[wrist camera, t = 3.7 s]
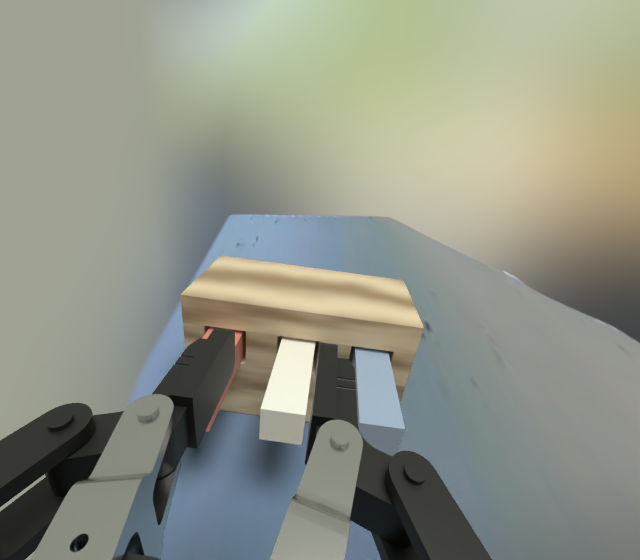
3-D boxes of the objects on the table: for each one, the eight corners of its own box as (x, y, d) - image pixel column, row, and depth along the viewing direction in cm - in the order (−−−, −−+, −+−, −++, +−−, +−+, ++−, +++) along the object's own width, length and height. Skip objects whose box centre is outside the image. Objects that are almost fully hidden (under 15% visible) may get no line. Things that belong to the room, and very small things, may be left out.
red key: (209, 431, 22) (207, 401, 21) (166, 425, 22) (162, 394, 21) (250, 341, 32) (250, 317, 31) (220, 337, 32) (220, 312, 31)
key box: (389, 434, 33) (424, 328, 27) (191, 405, 33) (180, 294, 27) (379, 370, 42) (403, 280, 36) (223, 348, 42) (221, 255, 36)
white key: (301, 445, 22) (305, 415, 21) (259, 439, 22) (260, 408, 21) (314, 350, 32) (317, 326, 31) (284, 346, 32) (286, 322, 31)
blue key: (394, 458, 22) (405, 429, 21) (352, 452, 22) (359, 422, 21) (378, 359, 32) (384, 335, 31) (349, 355, 32) (354, 331, 31)
